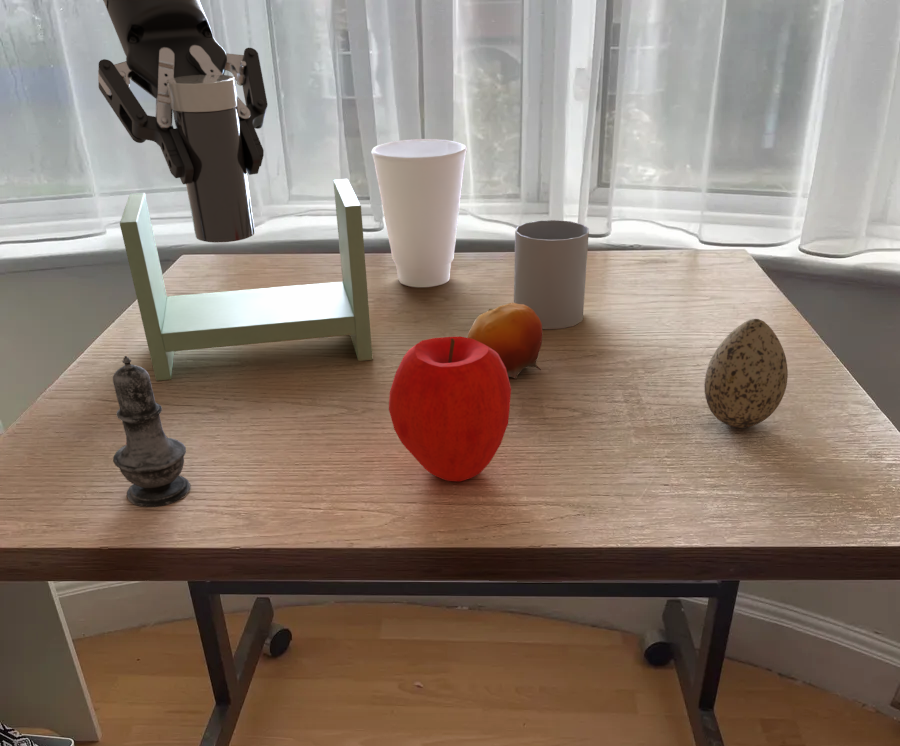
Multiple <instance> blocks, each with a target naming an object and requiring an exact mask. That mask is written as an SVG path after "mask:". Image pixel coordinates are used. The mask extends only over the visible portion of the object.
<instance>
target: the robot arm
mask: <svg viewBox="0 0 900 746" xmlns="http://www.w3.org/2000/svg"><path fill="white" fill-rule="evenodd" d="M102 1H103V4H104V6H105V8H106V10H107V13H108V15H109V18H110V21H111V24H113V28H114V30H115V33H116V35H117V37H118V38H117V39H118V41H119V43H120V45H121V49H122V50H123V53H124V55H125V61H123V62H117V63H115V64H114V63H113V62H112V61H111V60H109V59H105V58H104V59H101V60H99V61H98V70H97V74H98V75H97V79H98V90H99V91H100V93H101V94H102V95H103V98H105V100H106V102H107V103H108V105H109V106H110V108H111V109H112V110H113V112H114V114H115V115H116V117H117V118H118V120H119V121H120V123H121V124H122V126H123V127H124V129H125V131H126V132H127V133H128V135H129V136H130V138H131V139H132V141H134V142H135V143H137V144H143V143H145V142H146V141H149V142H154V143H155V144H157V145H158V146H159V148H160V150H161V152H162V154H163V157H164V159H165V162H166V164H167V166H168V169H169V173H170V174H171V175H172V176H173V177H174V178H175V179H179V180H180V181H181V184H182V185H186V184H190V183H192V180H193V174H194V169H193V165H192V162H191V160H190V157H189V155H188V152H187V150H186V147H185V145H184V143H183V140H182V138H181V135H180V133H179V131H178V128H176V127H175V128H174V126H173V110H172V109H171V105H170V99H169V94H168V88H167V82H166V81H167V80H169V79H171V78H176V77H182V76H191V75H225V73H226V71H227V72H229V73H231V74H232V76H233V77H234V78H235V82H236V84H237V85H238V86H239V87H241V86H242V91H243V96H244V101H245V103H244V102H243V100H241V98H240V97H239V96H238V95H237V97H238V106H237V107H238V113H239V121H240V128H241V135H242V142H243V149H244V156H245V163H246V170H247V175H249V176H251V175H258V174H259V171H260V167H262V164H263V159H264V155H265V154H264V151H265V150H264V148H263V145H262V143H261V140H260V138H259V136H258V133H257V130H260V129H262V128H263V126H264V123H265V122H264V121H265V118H266V114H267V110H268V100H267V99H268V98H267V93H266V88H265V83H264V78H263V77H264V76H263V72H262V67H261V61H260V57H259V53H258V51H257V50H256V49H255V48H253V47H246V48H245V49H244V51H243V54H235V53H229V52H228V53H227V52H226V50H225V49H224V48H223V46H222V45H220V44H219V42H218V41H217V40H216V39H215V38H214V35H213V32H212V29H211V26H210V23H209V20H208V18H207V16H206V13H205V10H204V9H203V6H202V4H201V1H200V0H102ZM131 82H133V83H135V84H136V85H137V87H140V88H141V89H142V90H143V91H144V92H146V93H147V94H149V95H150V96H151V97H153V98H154V99H155V116H153V115H148V114H147V112H146V111H145V109H144V108H143V106H142V105H141V103H140V102H139V100H138V99H137V97H136V96H135V94H134V93H133V91H132V90H131ZM256 129H257V130H256Z"/></svg>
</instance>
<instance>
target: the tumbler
mask: <svg viewBox="0 0 900 746" xmlns="http://www.w3.org/2000/svg"><path fill="white" fill-rule="evenodd" d="M166 82H167V88H168V94H169V99H170V105H171V109H172V110H173V112H172V115H173V120H174V125H175V129H176V128H178V131H179V133H180V135H181V138H182V140H183V143H184V145H185V147H186V150H187V152H188V155H189V157H190V160H191V162H192V165H193V169H194V174H193V180H192V183H190V184H185V185H186V187H185V188H186V192H187V196H188V202H189V210H190V213H191V219H192V225H193V230H194V236H195V238H196V239H197V240H199V241H201V242H205V243H233V242H239V241H243V240H246V239H248V238H251V237H253V236H254V235H255V233H256V227H255V221H254V214H253V207H252V198H251V192H250V185H249V178H248V172H247V170H246V163H245V156H244V149H243V142H242V135H241V128H240V121H239V113H238V107H237V106H238V97H239V96H238V91H237V85H236V84H237V82H236V80H235V78H234V76H233V75H228V74H224V75H191V76H182V77H176V78H171V79H169V80H167V81H166ZM237 96H238V97H237Z"/></svg>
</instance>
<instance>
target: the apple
mask: <svg viewBox="0 0 900 746" xmlns="http://www.w3.org/2000/svg"><path fill="white" fill-rule="evenodd" d="M511 397H512V385H511V383H510V377H508V374H507V370H506V367H505V365H504V364H503V362H502V360H501V358H500V356H499V355H498V353H497V352H495V351H494V350H493V349H491V348H489V347H488V346H486V345H484V344H482V343H480V342H478V341H476V340H474V339H471V338H467V337H466V336H460V335H459V336H458V335H457V336H442V337H441V336H440V337H432V338H428V339H423V340H420V341H419V342H417V343H416V344H415V345H413V346H412V347H410V348H409V349H408V350H407V351H406V353H404V355H403V356H402V359H401V361H400V363H399V364H398V367H397V369H396V371H395V374H394V377H393V380H392V383H391V387H390V389H389V394H388V412H389V415H390V419H391V422H392V426H393V430H394V432H395V434H396V435H397V437H398V439H399V441H400V443H401V444H402V445H403V446H404V447H405V449H406V450H407V451H408V452H409V453H410V454H411V455H412V456H413V458H415V460H416V461H417V462H418V463H419V465H420V466H421V467H423V468H424V470H425V471H427V472H428V473H430V474H431V475H432V476H435V477H437V478H439V479H442V480H445V481H447V482H462V481H463V482H464V481H466V480H470V479H472V478H475V477H476V476H478V475H480V474H481V473H482V472H483V471H484V470H485V469H486V468H487V466H488V465H489V464H490V463H491V461H492V460H493V458H494V457H495V454H497V451H498V450H499V448H500V447H501V445H502V442H503V439H504V436H505V433H506V431H507V429H508V425H509V420H510V418H509V417H510V408H511Z"/></svg>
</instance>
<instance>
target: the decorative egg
mask: <svg viewBox="0 0 900 746" xmlns="http://www.w3.org/2000/svg"><path fill="white" fill-rule="evenodd" d="M788 373H789V372H788V362H787V357H786V354H785V350H784V348H783V346H782V344H781V341H780V339H779V338H778V336H777V335H776V333H775V332H774V330H773V329H772V328H771V327H770V325H769V324H767V322H765V321H764V320H763V319H760V318H751V319H748V320H746V321H744V322H743V323H741V324H740V325H739V326H737V327H736V328H734V329H733V330H732V331H731V332H730V333H729V334H728V335H727V336H726V337H725V338H723V340H722V342H721V343H720V344H719V346H718V347H717V348H716V350H715V351H714V353H713V354H712V357H711V359H710V361H709V363H708V365H707V369H706V372H705V377H704V384H703V385H704V386H703V388H704V389H703V390H704V396H705V401H706V404H707V406H708V409H709V411H710V412H711V414H712V415H713V416H714V417H715V418H716V419H717V420H719V422H721V423H722V424H724V425H726V426H729V427H731V428H739V429H743V428H751V427H754V426H756V425H759V424H760V423H762V422H764V421H765V420H767V419H768V418H769V417H770V416H772V415H773V414H774V413H775V411H776V410H777V409H778V407H779V405H780V404H781V402H782V400H783V398H784V396H785V393H786V390H787V387H788V386H787V385H788V378H789V374H788Z"/></svg>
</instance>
